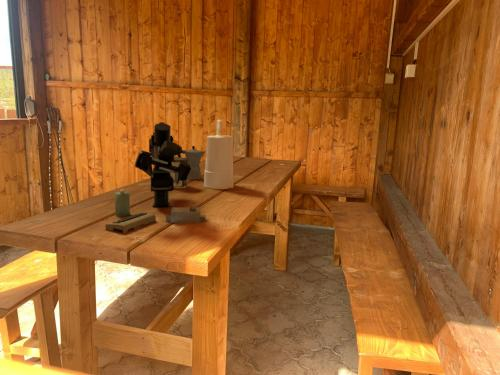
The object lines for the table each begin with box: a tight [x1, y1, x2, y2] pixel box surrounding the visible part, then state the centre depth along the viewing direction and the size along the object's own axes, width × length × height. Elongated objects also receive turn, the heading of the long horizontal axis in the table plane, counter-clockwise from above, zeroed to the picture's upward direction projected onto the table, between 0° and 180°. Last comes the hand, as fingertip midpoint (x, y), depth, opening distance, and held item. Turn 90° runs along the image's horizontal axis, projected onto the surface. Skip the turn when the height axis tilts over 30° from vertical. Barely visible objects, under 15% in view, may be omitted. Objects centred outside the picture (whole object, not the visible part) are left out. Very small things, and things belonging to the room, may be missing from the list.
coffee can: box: [170, 156, 188, 189], centre depth 192 cm, size 10×10×14 cm
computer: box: [104, 212, 157, 234], centre depth 130 cm, size 16×8×3 cm, turn 155°
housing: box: [165, 206, 206, 224], centre depth 138 cm, size 14×6×5 cm, turn 98°
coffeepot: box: [177, 145, 206, 180], centre depth 215 cm, size 15×9×18 cm, turn 103°
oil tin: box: [114, 189, 131, 217], centre depth 141 cm, size 5×5×9 cm
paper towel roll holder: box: [203, 119, 235, 190], centre depth 195 cm, size 15×15×33 cm
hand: (164, 179), depth 130 cm, fingers open, 9 cm apart
